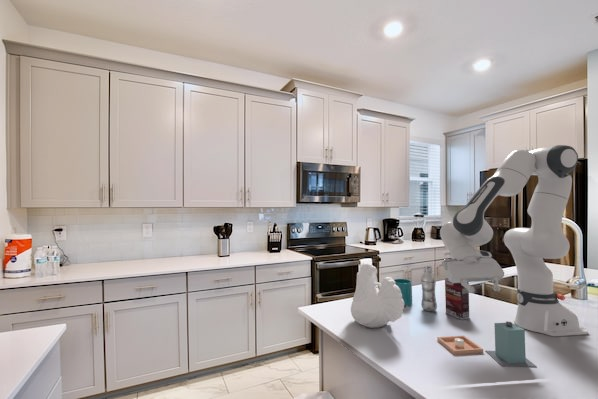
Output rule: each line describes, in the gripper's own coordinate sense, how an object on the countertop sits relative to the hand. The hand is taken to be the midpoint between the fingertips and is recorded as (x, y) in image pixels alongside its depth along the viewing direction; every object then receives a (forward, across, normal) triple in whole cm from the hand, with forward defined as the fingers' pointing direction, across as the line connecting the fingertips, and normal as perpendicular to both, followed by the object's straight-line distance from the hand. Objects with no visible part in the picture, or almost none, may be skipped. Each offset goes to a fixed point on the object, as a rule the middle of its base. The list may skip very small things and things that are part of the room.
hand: (485, 291), depth 103 cm
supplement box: (-5, +6, +32) cm, 33 cm away
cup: (-19, -12, +45) cm, 50 cm away
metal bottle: (-11, -3, +37) cm, 39 cm away
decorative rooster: (-1, -33, +27) cm, 43 cm away
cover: (+20, -1, +5) cm, 21 cm away
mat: (+21, -1, +6) cm, 22 cm away
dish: (+14, -11, +12) cm, 22 cm away
